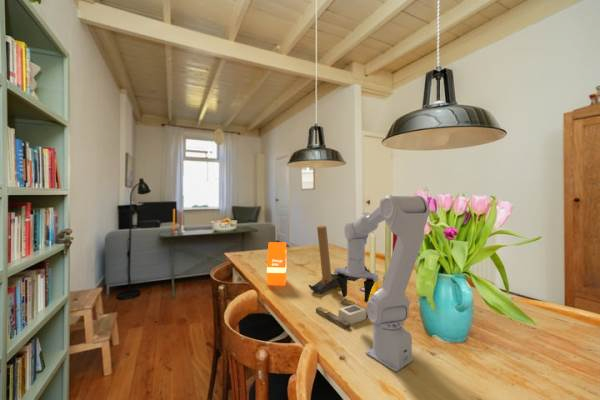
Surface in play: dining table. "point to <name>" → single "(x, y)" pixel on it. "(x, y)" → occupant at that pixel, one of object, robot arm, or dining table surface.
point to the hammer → (324, 264)
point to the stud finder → (352, 313)
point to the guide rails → (335, 318)
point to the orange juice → (276, 263)
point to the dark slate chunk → (355, 277)
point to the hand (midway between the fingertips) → (355, 298)
